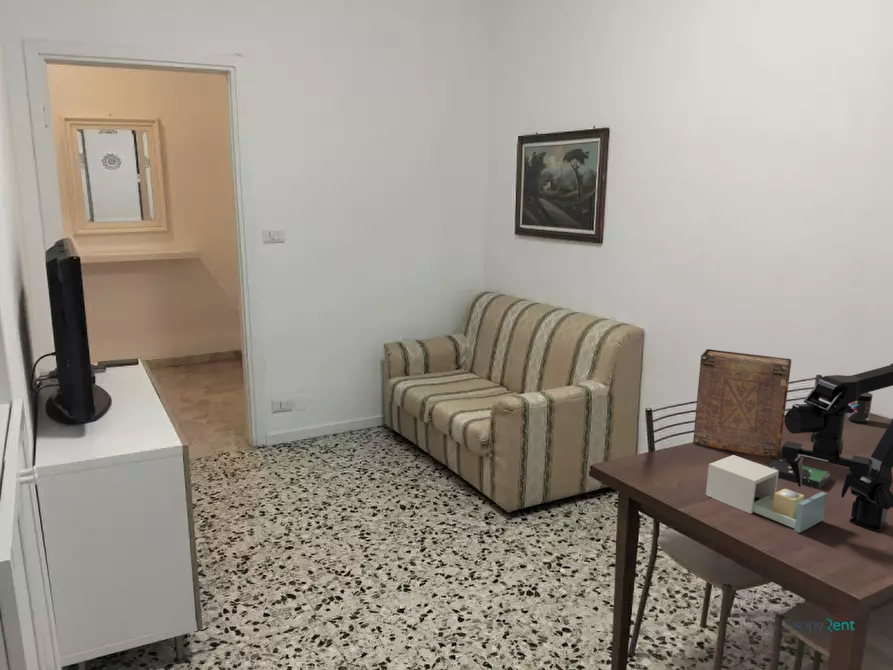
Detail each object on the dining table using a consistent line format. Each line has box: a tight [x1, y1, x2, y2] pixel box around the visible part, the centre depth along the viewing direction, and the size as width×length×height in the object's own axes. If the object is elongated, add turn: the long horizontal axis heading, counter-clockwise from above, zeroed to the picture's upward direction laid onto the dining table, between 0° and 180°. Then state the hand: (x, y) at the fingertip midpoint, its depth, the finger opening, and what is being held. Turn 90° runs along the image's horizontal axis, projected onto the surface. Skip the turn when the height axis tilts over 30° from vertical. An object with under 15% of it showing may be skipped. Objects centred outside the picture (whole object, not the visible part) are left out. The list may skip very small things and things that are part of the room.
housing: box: [705, 454, 779, 515], centre depth 181 cm, size 13×11×9 cm
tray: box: [753, 491, 828, 534], centre depth 171 cm, size 13×11×7 cm
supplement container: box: [846, 392, 873, 424], centre depth 245 cm, size 7×7×10 cm
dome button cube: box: [772, 488, 805, 519], centre depth 171 cm, size 5×5×5 cm
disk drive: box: [765, 457, 832, 490], centre depth 197 cm, size 10×3×15 cm
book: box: [692, 348, 792, 460], centre depth 215 cm, size 25×9×30 cm, turn 61°
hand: (820, 491), depth 164 cm, fingers open, 9 cm apart
